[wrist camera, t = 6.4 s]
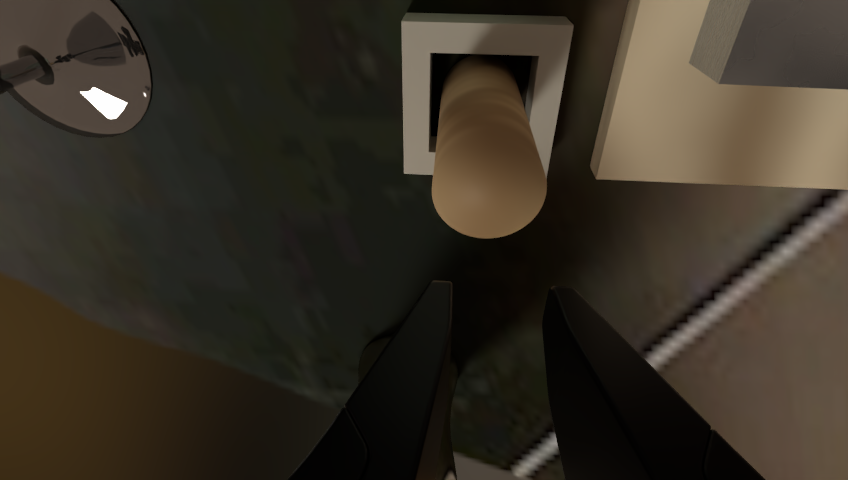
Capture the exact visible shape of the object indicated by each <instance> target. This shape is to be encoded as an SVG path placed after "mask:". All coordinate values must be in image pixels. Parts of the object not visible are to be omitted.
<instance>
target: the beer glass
mask: <svg viewBox="0 0 848 480" xmlns="http://www.w3.org/2000/svg"><path fill="white" fill-rule="evenodd" d="M393 335H394V334H393ZM393 335H388V336H385V337H382V338H379V339H377V340H375V341H373V342H372V343H371V344H369V345H368V346H367V347H366V348H365V350H364V351H363V353H362V355H361V357H360V360H359V368H358V385H359V384H360V382H361V381H362V379H363V378H364V376H365V375H366V374H367V372H368V371H369V369H370V368H371V366H372V365H373V364H374V362H375V361H376V359H377V358H378V356H379V355H380V353H381V352H382V351H383V349H384V348H385V346H386V345H387V343H388V342H389V341H390V339H391V338H392V336H393ZM457 380H458V365H457V362H456V359H455V357H454V356H453V354H452V353H451V355H450V372H449V389H448V400H447V408H446V414H445V421H444V427H443V433H442V439H441V446H440V452H439V458H438V464H437V471H436V477H435V480H457V475H456V468H455V462H454V456H453V449H452V442H451V431H450V417H451V407H452V402H453V397H454V393H455V389H456V385H457Z"/></svg>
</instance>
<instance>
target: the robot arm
mask: <svg viewBox="0 0 848 480" xmlns="http://www.w3.org/2000/svg"><path fill="white" fill-rule="evenodd" d="M452 321H453V284H452V282H450V281H431V282H430V283H429V284H428V286H427V287H426V289H425V290H424V292H423V293H422V294H421V296H420V297H419V299H418V300H417V302H416V303H415V305H414V306H413V307H412V309H411V310H410V312H409V313H408V315H407V316H406V318H405V319H404V320H403V322H402V323H401V325H400V326H399V328H398V329H397V330H396V332H395V333H394V335H393V336H392V338H391V339H390V341H389V342H388V343H387V345H386V346H385V348H384V349H383V351H382V352H381V353H380V355H379V356H378V358H377V359H376V361H375V362H374V364H373V365H372V366H371V368H370V369H369V371H368V372H367V374H366V375H365V376H364V378H363V379H362V381H361V382H360V384H359V385H358V387H357V388H356V389H355V391H354V392H353V394H352V395H351V397H350V398H349V399H348V401H347V402H346V404H345V408H342V409H341V411H340V412H339V414H338V415H337V416H336V418H335V419H334V421H333V422H332V424H331V425H330V426H329V428H328V429H327V430H326V432H325V433H324V434H323V436H322V437H321V439H320V440H319V441H318V443H317V444H316V445H315V447H314V448H313V449H312V451H311V452H310V453H309V454H308V455H307V457H306V458H305V459H304V460H303V461H302V463H301V464H300V465H299V466H298V467H297V469H296V470H295V471H294V472H293V473H292V475H291V476H290V477H289V478H288V479H287V480H435V477H436V471H437V464H438V458H439V452H440V446H441V439H442V433H443V427H444V421H445V414H446V408H447V400H448V389H449V372H450V355H451V338H452ZM542 329H543V341H544V352H545V364H546V375H547V386H548V396H549V404H550V409H551V415H552V420H553V424H554V429H555V434H556V438H557V443H558V448H559V452H560V457H561V462H562V466H563V471H564V476H565V480H765V479H764V478H763V477H762V476H761V475H760V474H759V473H758V472H757V471H756V470H755V469H754V468H753V467H752V466H751V465H750V464H749V463H748V462H747V461H746V460H745V459H744V458H743V457H742V456H741V455H740V454H739V453H737V452H736V451H735V450H734V449H733V448H732V447H731V446H730V445H729V444H728V443H727V442H726V441H725V440H724V439H723V438H722V437H721V436H720V435H719V434H718V433H717V431H715V430H710V429H711V426H710V425H709V424H708V423H707V422H706V421H705V420H704V419H703V418H702V417H701V416H700V415H699V414H698V413H697V412H696V411H695V410H694V409H693V408H692V407H691V406H690V405H689V404H688V403H687V401H686V400H685V399H684V398H683V397H682V396H681V395H680V394H679V393H678V392H677V391H676V390H675V389H674V388H673V387H672V386H671V385H670V384H669V383H668V382H667V381H666V380H665V379H664V378H663V377H662V376H661V375H660V374H659V373H658V372H657V371H656V370H655V369H654V368H653V367H652V366H651V365H650V364H649V363H648V362H647V361H646V360H645V359H644V358H643V357H642V356H641V355H640V354H639V353H638V352H637V351H636V350H635V349H634V348H633V347H632V346H631V345H630V344H629V343H628V342H627V341H626V340H625V339H624V338H623V337H622V336H621V335H620V334H619V333H618V332H617V331H616V330H615V329H614V328H613V327H612V326H611V325H610V324H609V323H608V322H607V321H606V320H605V319H604V318H603V317H602V316H601V315H600V314H599V313H598V312H597V311H596V310H595V309H594V308H593V307H592V306H591V305H590V304H589V303H588V302H587V301H586V300H585V299H584V298H583V297H582V296H581V295H580V294H579V293H578V292H577V291H576V290H575V289H574V288H572V287H564V286H553V287H551V288H550V289H549V292H548V296H547V301H546V306H545V310H544V315H543V323H542Z"/></svg>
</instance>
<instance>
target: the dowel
mask: <svg viewBox="0 0 848 480" xmlns="http://www.w3.org/2000/svg"><path fill="white" fill-rule="evenodd" d="M546 191H547V181H546V176H545V172H544V169H543V166H542V162H541V159H540V156H539V153H538V150H537V147H536V143H535V140H534V137H533V134H532V131H531V127H530V124H529V121H528V118H527V115H526V111H525V108H524V105H523V102H522V99H521V95H520V92H519V89H518V86H517V83H516V79H515V77H514V74H513V73H512V71H511V69H510V68H509V67H508V66H507V65H506V64H505V63H504V62H503V61H502V60H500V59H498V58H496V57H493V56H490V55H484V54H478V55H472V56H469V57H466V58H464V59H462V60H460V61H459V62H457V63H456V64H455V65H454V66H453V67H452V68H451V69H450V70H449V72H448V73H447V75H446V77H445V79H444V82H443V86H442V94H441V104H440V114H439V124H438V133H437V143H436V153H435V163H434V172H433V182H432V198H433V203H434V205H435V208H436V210H437V212H438V214H439V215H440V217H441V218H442V219H443V220H444V221H445V222H446V223H447V224H448V225H449V226H450V227H452V228H453V229H455V230H456V231H458V232H460V233H462V234H465V235H468V236H471V237H476V238H498V237H503V236H506V235H509V234H512V233H514V232H516V231H518V230H520V229H522V228H523V227H525V226H526V225H527V224H528V223H530V222H531V221H532V220H533V219H534V218H535V216H536V215H537V214H538V213H539V211H540V209H541V207H542V205H543V203H544V201H545V197H546Z"/></svg>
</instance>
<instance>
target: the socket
mask: <svg viewBox="0 0 848 480" xmlns="http://www.w3.org/2000/svg"><path fill="white" fill-rule="evenodd" d="M401 22H402V80H403V137H404V174H425V175H433V172H434V163H435V153H436V143H437V136H431V111H432V58H433V53H457V54H493V55H529V56H532V61H531V68H530V76H529V83H528V90H527V98H526V105H525V111H526V115H527V118H528V121H529V124H530V127H531V131H532V134H533V137H534V140H535V143H536V147H537V150H538V153H539V156H540V159H541V162H542V166H543V169H544V172H545V176H546V178H547V172H548V167H549V161H550V156H551V150H552V144H553V139H554V133H555V128H556V122H557V117H558V111H559V105H560V100H561V94H562V89H563V83H564V78H565V72H566V66H567V61H568V55H569V50H570V44H571V38H572V33H573V27H574V25H573V24H572V23H571V22H570V21H569V20H568V18H567V17H566V16H530V15H486V14H443V13H406V14H405V16H404V18H403V20H402V21H401Z"/></svg>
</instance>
